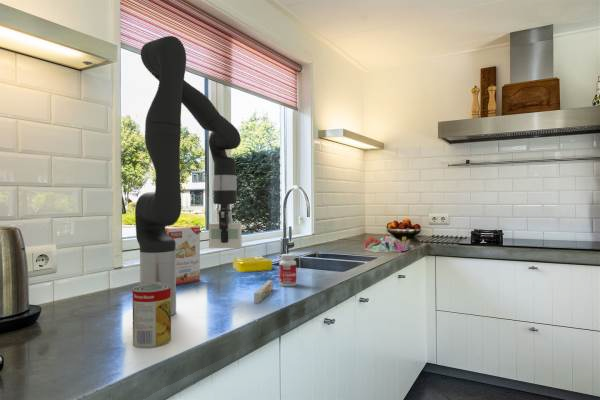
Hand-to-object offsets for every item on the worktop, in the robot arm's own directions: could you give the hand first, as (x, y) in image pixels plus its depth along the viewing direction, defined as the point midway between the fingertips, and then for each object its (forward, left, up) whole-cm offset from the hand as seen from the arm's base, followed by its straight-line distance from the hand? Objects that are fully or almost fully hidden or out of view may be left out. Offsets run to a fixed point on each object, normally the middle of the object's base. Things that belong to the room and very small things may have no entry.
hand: (225, 241), depth 135 cm
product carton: (0, 0, -2) cm, 2 cm away
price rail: (0, -13, -17) cm, 21 cm away
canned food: (-45, +2, -18) cm, 48 cm away
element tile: (+51, +4, -18) cm, 54 cm away
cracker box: (+18, +23, -18) cm, 34 cm away
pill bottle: (+17, -18, -18) cm, 30 cm away
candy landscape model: (+121, -61, -18) cm, 136 cm away
